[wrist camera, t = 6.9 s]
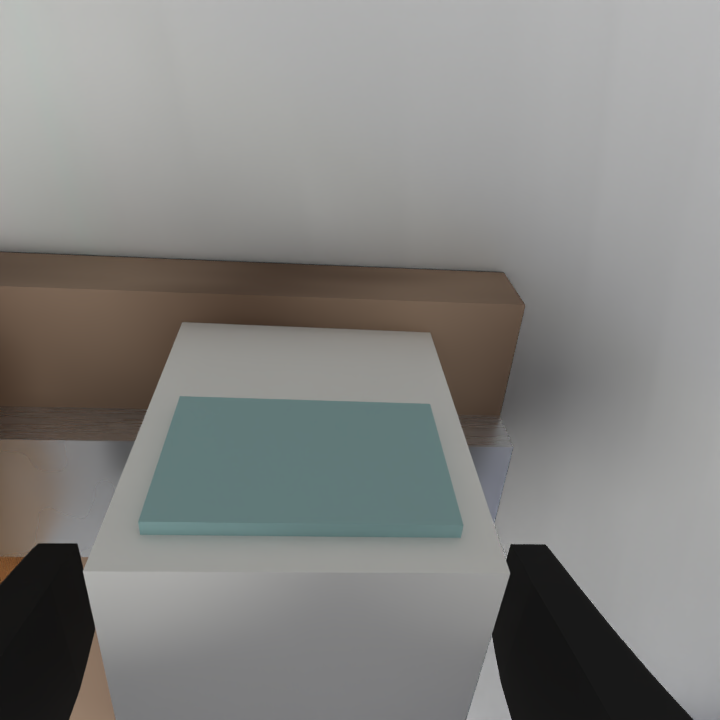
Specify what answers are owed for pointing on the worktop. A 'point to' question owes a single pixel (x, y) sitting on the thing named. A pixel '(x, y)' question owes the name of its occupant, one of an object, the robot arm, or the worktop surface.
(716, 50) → the worktop surface
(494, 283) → the board
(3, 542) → the rail
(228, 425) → the block
